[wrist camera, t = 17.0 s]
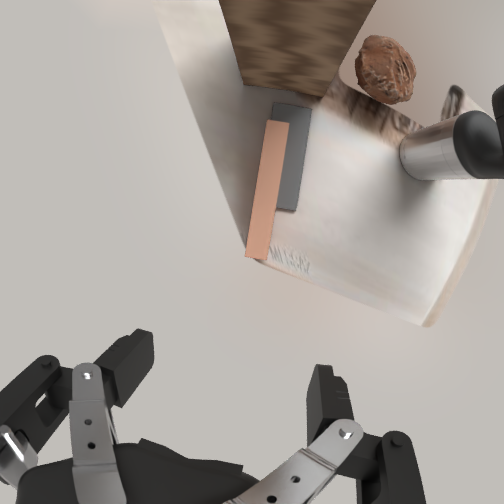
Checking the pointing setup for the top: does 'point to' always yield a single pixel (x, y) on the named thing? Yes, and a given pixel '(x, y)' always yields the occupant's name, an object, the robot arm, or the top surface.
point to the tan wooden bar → (267, 189)
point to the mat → (292, 152)
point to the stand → (293, 40)
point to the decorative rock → (385, 70)
